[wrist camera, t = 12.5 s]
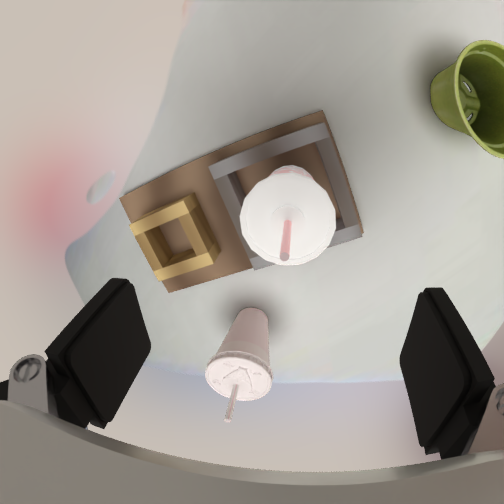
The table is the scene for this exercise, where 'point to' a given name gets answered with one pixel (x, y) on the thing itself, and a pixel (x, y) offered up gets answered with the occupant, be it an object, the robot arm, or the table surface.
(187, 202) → the fitting board
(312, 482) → the robot arm
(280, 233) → the beverage cup
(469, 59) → the plant pot
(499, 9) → the table surface
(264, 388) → the smoothie
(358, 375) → the table surface
